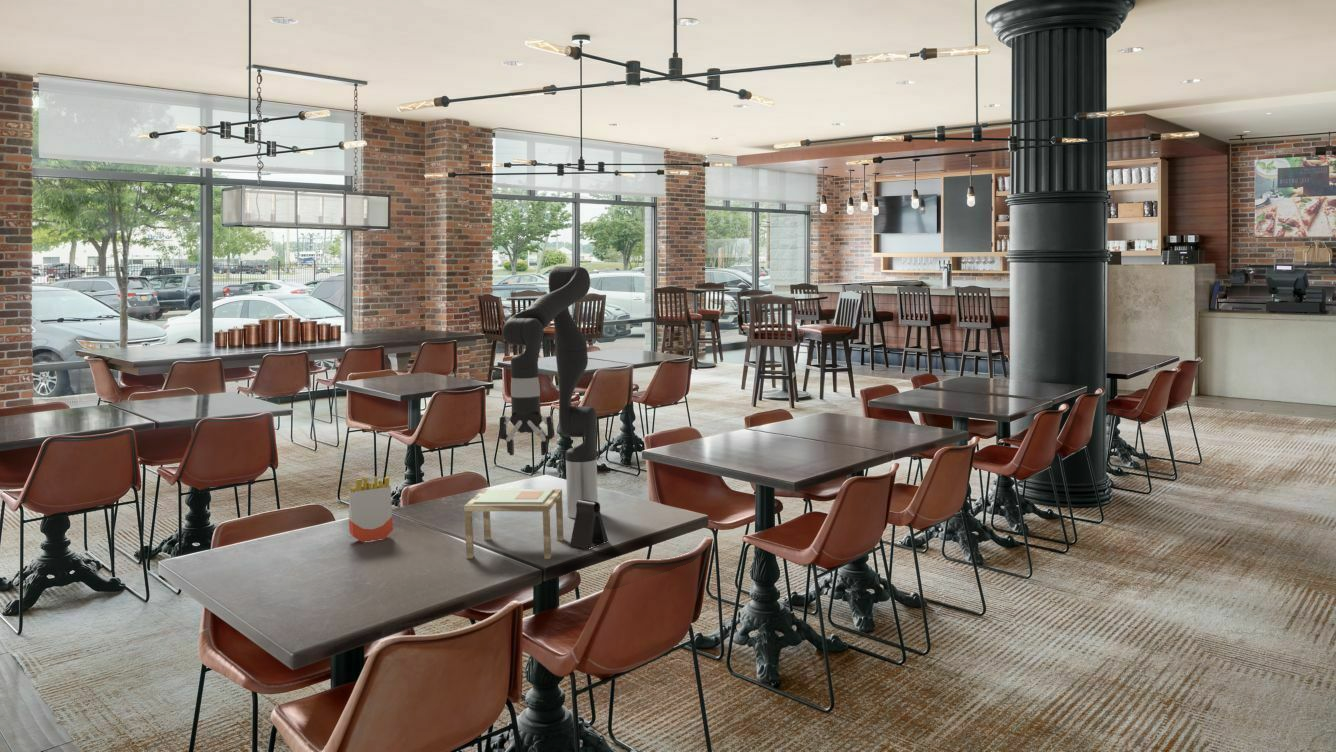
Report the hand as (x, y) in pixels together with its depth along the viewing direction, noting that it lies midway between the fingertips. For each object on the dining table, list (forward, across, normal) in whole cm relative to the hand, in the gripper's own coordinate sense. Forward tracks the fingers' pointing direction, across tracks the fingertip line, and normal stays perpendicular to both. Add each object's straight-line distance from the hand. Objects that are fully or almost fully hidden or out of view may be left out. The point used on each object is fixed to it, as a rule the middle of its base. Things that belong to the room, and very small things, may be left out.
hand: (527, 454), depth 249 cm
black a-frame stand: (+26, +15, +4) cm, 30 cm away
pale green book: (+13, -4, 0) cm, 14 cm away
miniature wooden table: (+26, -4, 0) cm, 26 cm away
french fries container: (+26, -47, +7) cm, 54 cm away
